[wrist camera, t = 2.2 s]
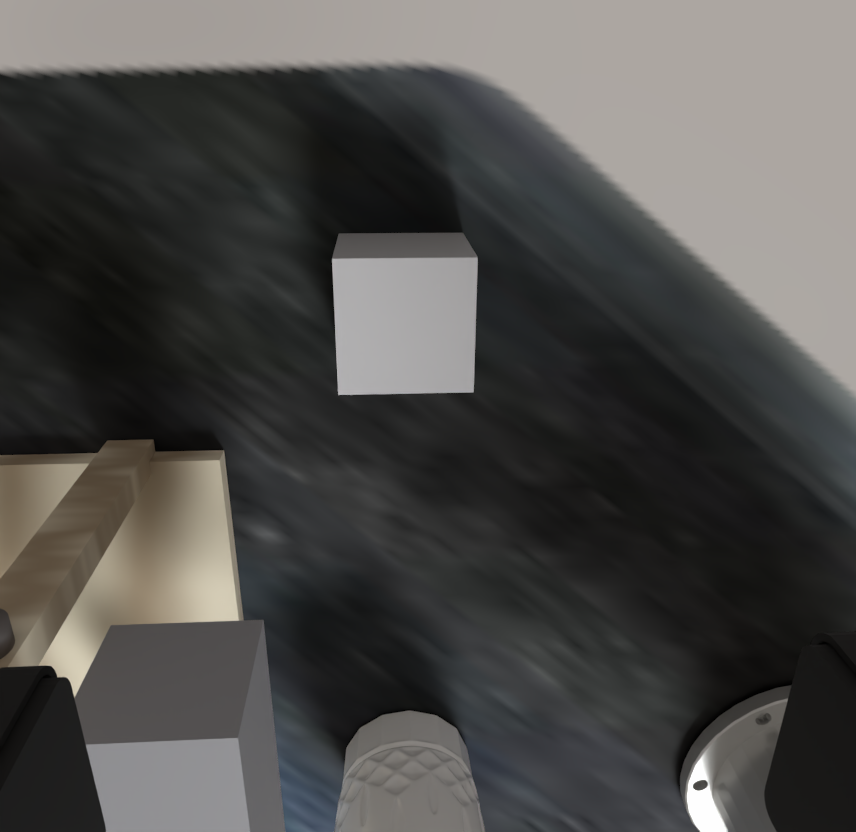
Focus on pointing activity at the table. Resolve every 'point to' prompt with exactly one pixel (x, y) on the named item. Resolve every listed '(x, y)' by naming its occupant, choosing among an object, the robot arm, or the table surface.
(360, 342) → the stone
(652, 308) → the table surface
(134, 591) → the frame
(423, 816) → the white cup
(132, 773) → the trapdoor
